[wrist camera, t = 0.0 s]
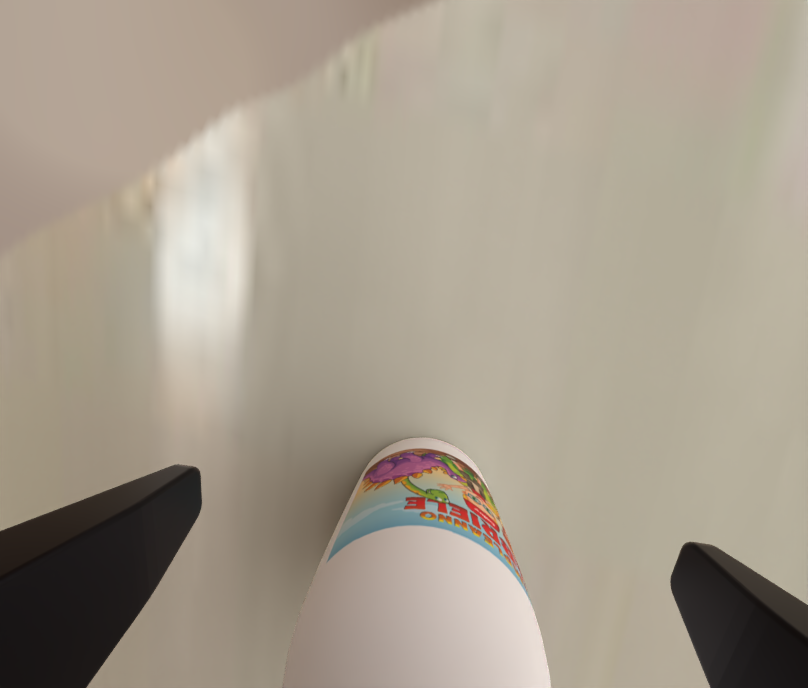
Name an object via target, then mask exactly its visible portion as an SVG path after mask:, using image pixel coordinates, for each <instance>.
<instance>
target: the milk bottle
mask: <svg viewBox="0 0 808 688" xmlns="http://www.w3.org/2000/svg"><path fill="white" fill-rule="evenodd" d="M283 688H551V684H550V674H549V669H548V664H547V659H546V655H545V650H544V645H543V640H542V636H541V632H540V629H539V626H538V623H537V620H536V616H535V613H534V610H533V607H532V604H531V601H530V598H529V595H528V592H527V589H526V586H525V583H524V580H523V577H522V575H521V572H520V569H519V567H518V564H517V561H516V559H515V556H514V553H513V551H512V548H511V545H510V543H509V540H508V537H507V535H506V532H505V530H504V527H503V524H502V522H501V519H500V517H499V514H498V512H497V509H496V507H495V504H494V502H493V499H492V497H491V494H490V492H489V489H488V487H487V484H486V482H485V480H484V478H483V476H482V474H481V472H480V470H479V469H478V467H477V466H476V465H475V463H474V462H473V461H472V460H471V459H470V458H469V457H468V456H467V455H466V454H465V453H464V452H462V451H461V450H460V449H458V448H457V447H455V446H453V445H451V444H449V443H447V442H444V441H441V440H438V439H433V438H425V437H417V438H409V439H404V440H401V441H398V442H395V443H393V444H391V445H389V446H387V447H386V448H384V449H383V450H381V451H380V452H379V453H378V454H377V455H376V456H375V457H374V458H373V459H372V460H371V461H370V462H369V464H368V465H367V467H366V468H365V470H364V471H363V473H362V475H361V477H360V479H359V481H358V483H357V485H356V487H355V489H354V491H353V493H352V495H351V497H350V499H349V501H348V503H347V505H346V508H345V510H344V512H343V514H342V516H341V518H340V520H339V522H338V524H337V527H336V529H335V531H334V533H333V535H332V537H331V540H330V542H329V544H328V546H327V548H326V551H325V553H324V555H323V557H322V559H321V561H320V564H319V566H318V568H317V570H316V573H315V575H314V578H313V580H312V583H311V585H310V588H309V590H308V593H307V595H306V598H305V600H304V603H303V605H302V608H301V610H300V613H299V616H298V619H297V623H296V626H295V630H294V633H293V637H292V640H291V644H290V647H289V651H288V657H287V662H286V668H285V674H284V680H283Z"/></svg>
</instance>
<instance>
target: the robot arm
mask: <svg viewBox="0 0 808 688" xmlns="http://www.w3.org/2000/svg"><path fill="white" fill-rule="evenodd" d="M201 505H202V496H201V475H200V471H199V469H198V468H196V467H193V466H187V465H179V464H177V465H173V466H170V467H168V468H165V469H162V470H160V471H157V472H154V473H152V474H149V475H147V476H144V477H141V478H139V479H136V480H133V481H131V482H128V483H126V484H123V485H120V486H118V487H115V488H112V489H110V490H107V491H105V492H102V493H99V494H97V495H94V496H91V497H89V498H86V499H84V500H81V501H78V502H76V503H73V504H70V505H68V506H65V507H63V508H60V509H57V510H55V511H52V512H49V513H47V514H44V515H42V516H39V517H36V518H34V519H31V520H28V521H26V522H23V523H21V524H18V525H15V526H13V527H10V528H7V529H5V530H2V531H0V688H86V687H87V686H88V684H89V683H90V682H91V680H92V679H93V677H94V676H95V675H96V673H97V672H98V670H99V669H100V667H101V666H102V665H103V663H104V662H105V660H106V659H107V658H108V656H109V655H110V653H111V652H112V651H113V649H114V648H115V646H116V645H117V644H118V642H119V641H120V639H121V638H122V637H123V635H124V634H125V632H126V631H127V630H128V628H129V627H130V625H131V624H132V623H133V621H134V620H135V618H136V617H137V616H138V614H139V613H140V611H141V610H142V608H143V607H144V605H145V604H146V603H147V601H148V600H149V598H150V597H151V595H152V594H153V592H154V590H155V589H156V587H157V585H158V584H159V582H160V581H161V579H162V577H163V575H164V574H165V572H166V570H167V569H168V567H169V565H170V564H171V562H172V560H173V558H174V557H175V555H176V553H177V552H178V550H179V548H180V547H181V545H182V543H183V541H184V540H185V538H186V536H187V535H188V533H189V531H190V530H191V528H192V526H193V524H194V523H195V521H196V519H197V518H198V516H199V513H200V510H201ZM671 590H672V593H673V596H674V598H675V601H676V603H677V606H678V608H679V611H680V613H681V616H682V618H683V621H684V623H685V626H686V628H687V631H688V633H689V636H690V638H691V641H692V643H693V646H694V648H695V651H696V653H697V656H698V658H699V661H700V663H701V666H702V668H703V671H704V673H705V676H706V678H707V681H708V683H709V685H710V688H808V605H807V604H805V603H804V602H802V601H800V600H799V599H797V598H796V597H794V596H793V595H791V594H789V593H788V592H786V591H785V590H783V589H782V588H780V587H778V586H777V585H775V584H774V583H772V582H771V581H769V580H767V579H766V578H764V577H763V576H761V575H760V574H758V573H756V572H755V571H753V570H752V569H750V568H748V567H747V566H745V565H744V564H742V563H741V562H739V561H737V560H736V559H734V558H733V557H731V556H730V555H728V554H726V553H725V552H723V551H722V550H720V549H719V548H717V547H715V546H713V545H709V544H703V543H696V542H687V543H685V544H684V545H683V546H682V548H681V551H680V554H679V556H678V559H677V562H676V564H675V567H674V570H673V572H672V575H671Z"/></svg>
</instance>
